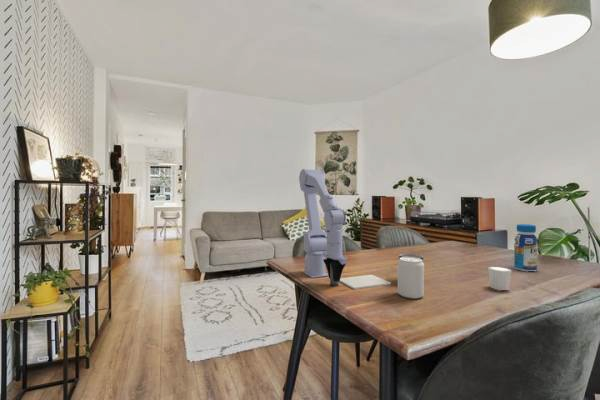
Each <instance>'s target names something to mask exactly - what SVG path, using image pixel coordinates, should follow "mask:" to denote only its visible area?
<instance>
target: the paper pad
mask: <svg viewBox="0 0 600 400" xmlns="http://www.w3.org/2000/svg"><path fill="white" fill-rule="evenodd" d="M338 283H341V284H343V285H345V286H347V287H349V288H351V289H353V290H360V289H367V288H375V287H381V286H387V285H388V286H389V285H392V282H391V281H388V280H386V279H384V278H381V277H378V276H376V275H374V274H365V275H357V276H356V275H355V276H350V277H349V276H348V277H340V281H338Z"/></svg>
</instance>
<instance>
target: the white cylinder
mask: <svg viewBox="0 0 600 400" xmlns="http://www.w3.org/2000/svg"><path fill="white" fill-rule="evenodd" d="M511 277H512V269H510V268H507V267H503V266H502V267H501V266H488V279H489V280H488V281H489V288H490V287H491V288H490V289H492V288H494V289H493V290H495V289H498V290H497V291H501V290H508V291H510V284H511Z"/></svg>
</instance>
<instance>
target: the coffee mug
mask: <svg viewBox="0 0 600 400" xmlns="http://www.w3.org/2000/svg"><path fill="white" fill-rule="evenodd" d="M401 257H415V258H420V259H422V262H423V263H424V256H423V255H422V254H416V253H409V252H408V253H400V254H398V261H399V260H400V259H399V258H401Z"/></svg>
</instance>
